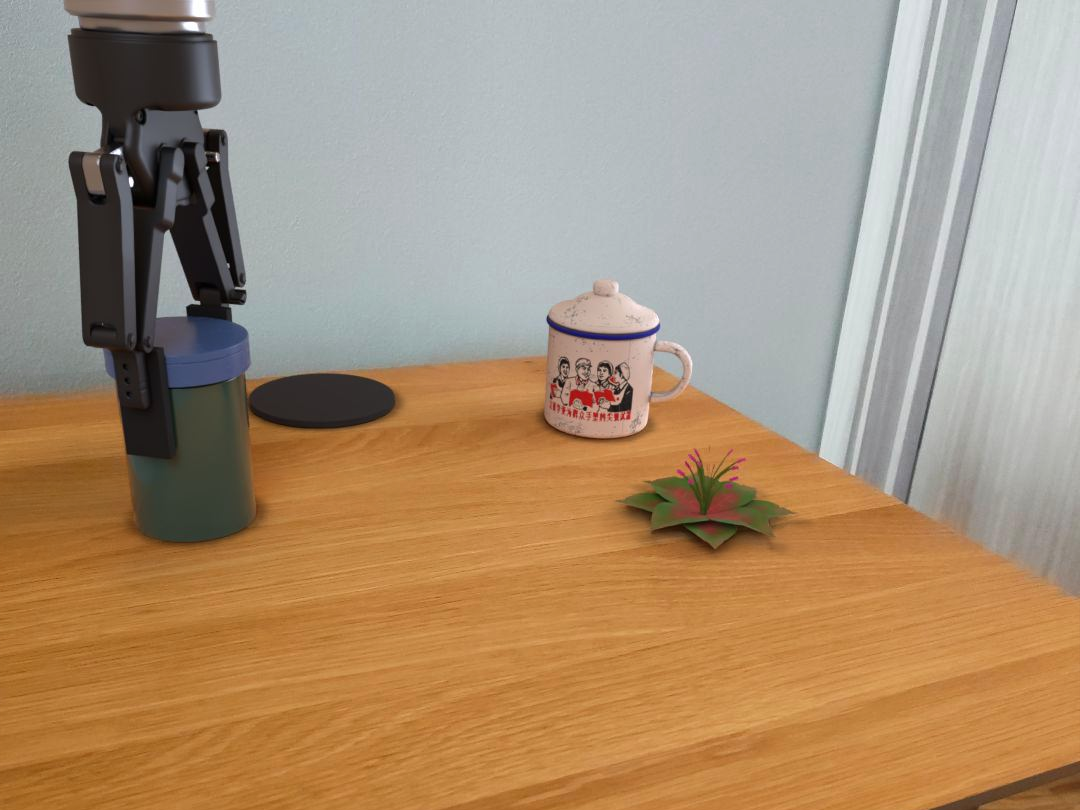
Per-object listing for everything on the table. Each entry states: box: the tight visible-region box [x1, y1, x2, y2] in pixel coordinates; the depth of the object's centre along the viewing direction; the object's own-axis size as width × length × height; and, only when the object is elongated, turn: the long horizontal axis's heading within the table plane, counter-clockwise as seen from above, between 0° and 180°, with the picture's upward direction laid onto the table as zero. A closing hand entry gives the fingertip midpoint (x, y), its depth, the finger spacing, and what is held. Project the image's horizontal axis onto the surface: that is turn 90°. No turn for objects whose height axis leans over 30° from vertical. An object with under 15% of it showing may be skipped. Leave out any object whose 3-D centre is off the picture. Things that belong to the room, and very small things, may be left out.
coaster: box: [248, 372, 396, 429], centre depth 89 cm, size 12×12×1 cm
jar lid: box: [102, 315, 252, 388], centre depth 64 cm, size 8×8×2 cm
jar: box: [113, 371, 257, 543], centre depth 66 cm, size 8×8×12 cm
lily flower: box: [614, 446, 799, 550], centre depth 72 cm, size 12×12×5 cm
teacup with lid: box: [543, 278, 693, 439], centre depth 85 cm, size 12×9×12 cm
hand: (186, 427), depth 66 cm, fingers closed on jar lid, 8 cm apart
